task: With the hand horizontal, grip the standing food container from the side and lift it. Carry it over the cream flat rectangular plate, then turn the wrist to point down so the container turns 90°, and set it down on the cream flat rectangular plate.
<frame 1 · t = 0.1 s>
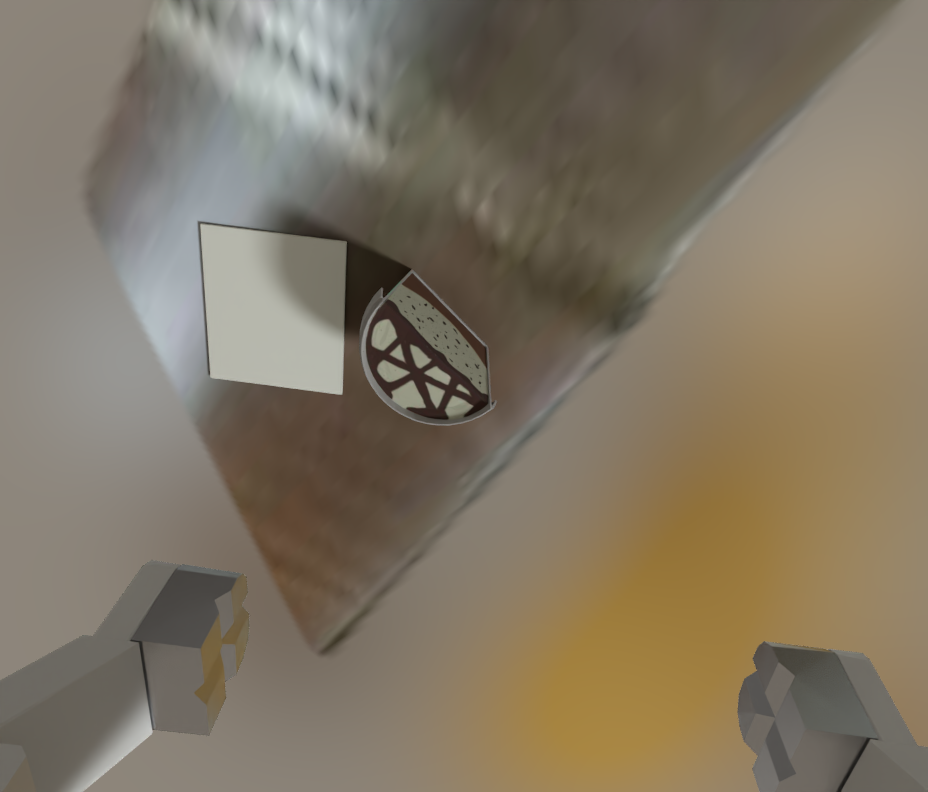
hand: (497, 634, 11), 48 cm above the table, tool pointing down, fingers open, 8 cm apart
food container: (425, 330, 61), on the table
cream flat rectangular plate: (275, 312, 61), on the table
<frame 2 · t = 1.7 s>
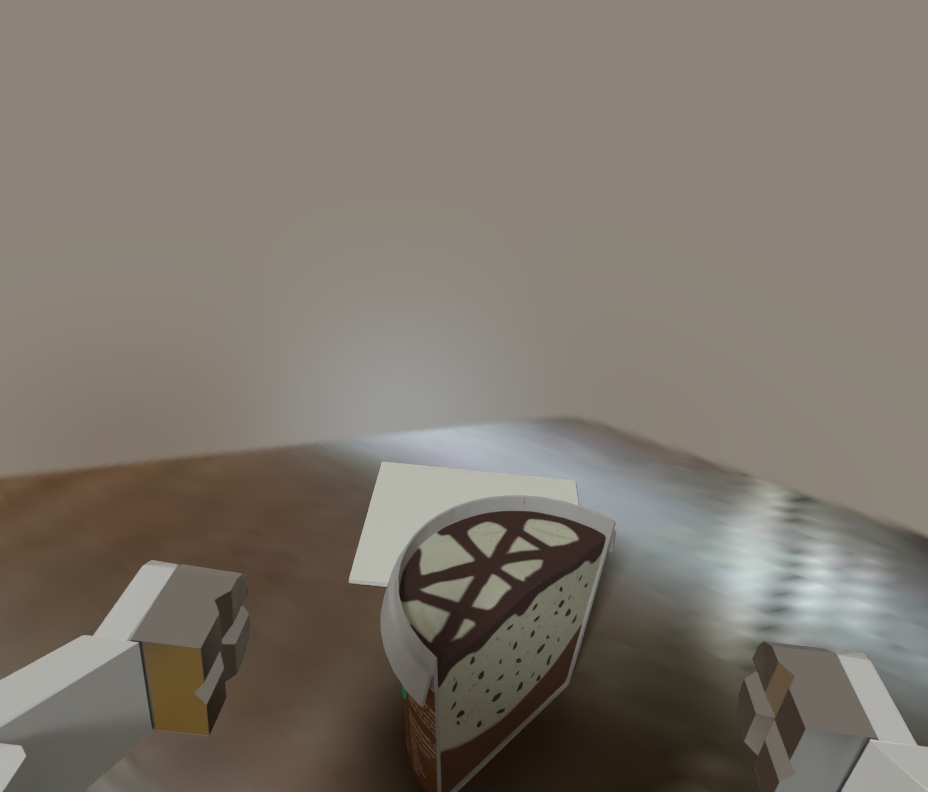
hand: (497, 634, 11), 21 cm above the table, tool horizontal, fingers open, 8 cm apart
food container: (462, 702, 35), on the table
cream flat rectangular plate: (474, 527, 46), on the table
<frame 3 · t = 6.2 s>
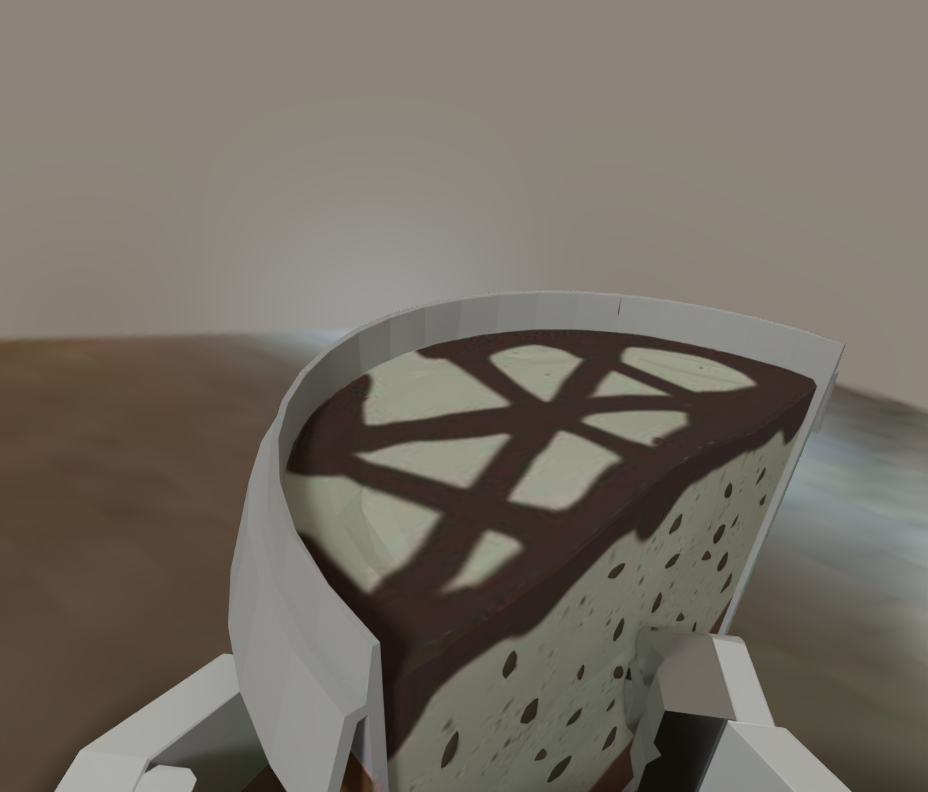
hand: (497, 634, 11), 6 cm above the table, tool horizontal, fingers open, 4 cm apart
food container: (462, 763, 16), on the table, touching gripper
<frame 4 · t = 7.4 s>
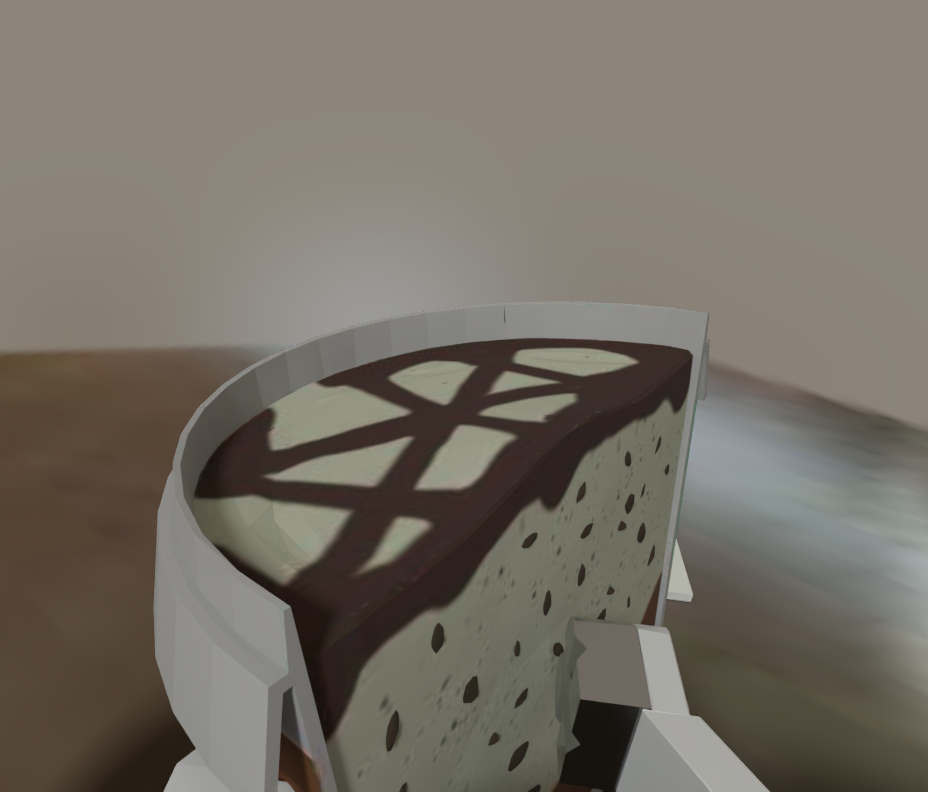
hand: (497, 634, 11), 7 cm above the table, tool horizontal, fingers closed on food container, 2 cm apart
cream flat rectangular plate: (479, 467, 28), on the table
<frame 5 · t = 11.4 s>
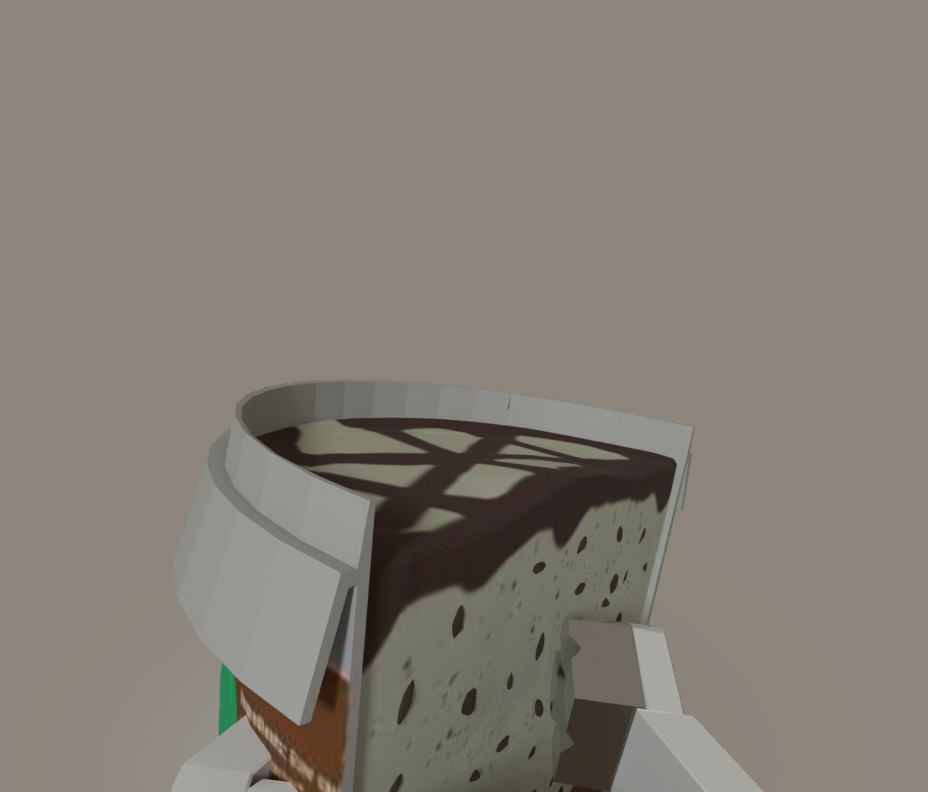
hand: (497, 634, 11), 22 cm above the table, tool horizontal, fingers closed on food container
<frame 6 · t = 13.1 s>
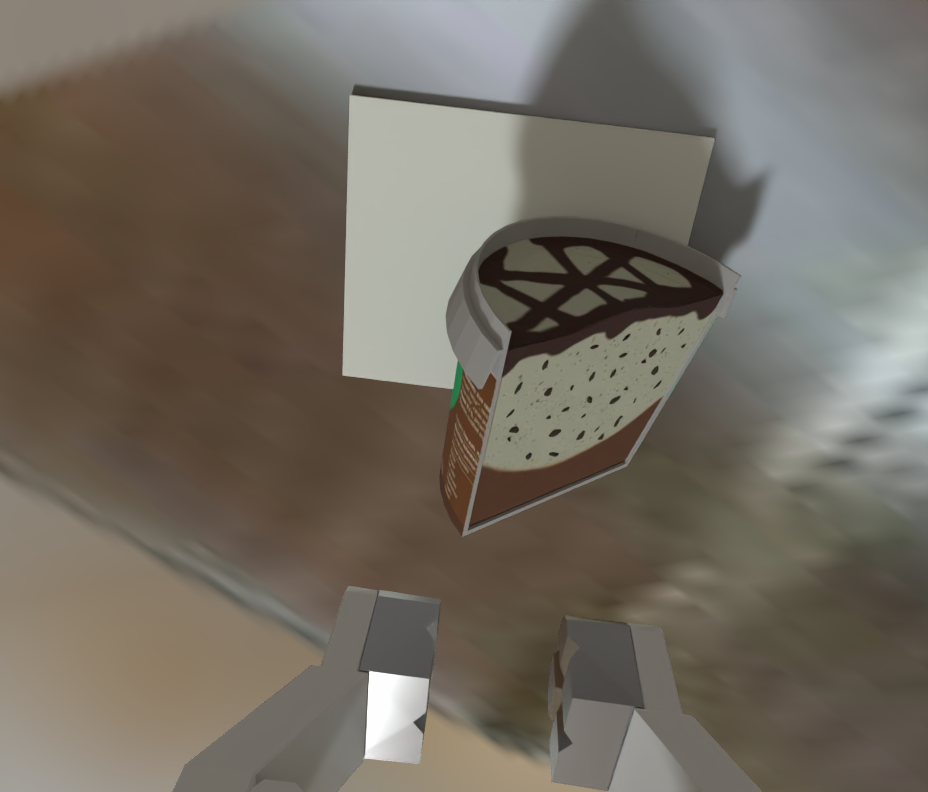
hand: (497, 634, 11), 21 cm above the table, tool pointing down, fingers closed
food container: (507, 452, 32), point 2 cm above the table, touching cream flat rectangular plate
cream flat rectangular plate: (510, 266, 30), on the table
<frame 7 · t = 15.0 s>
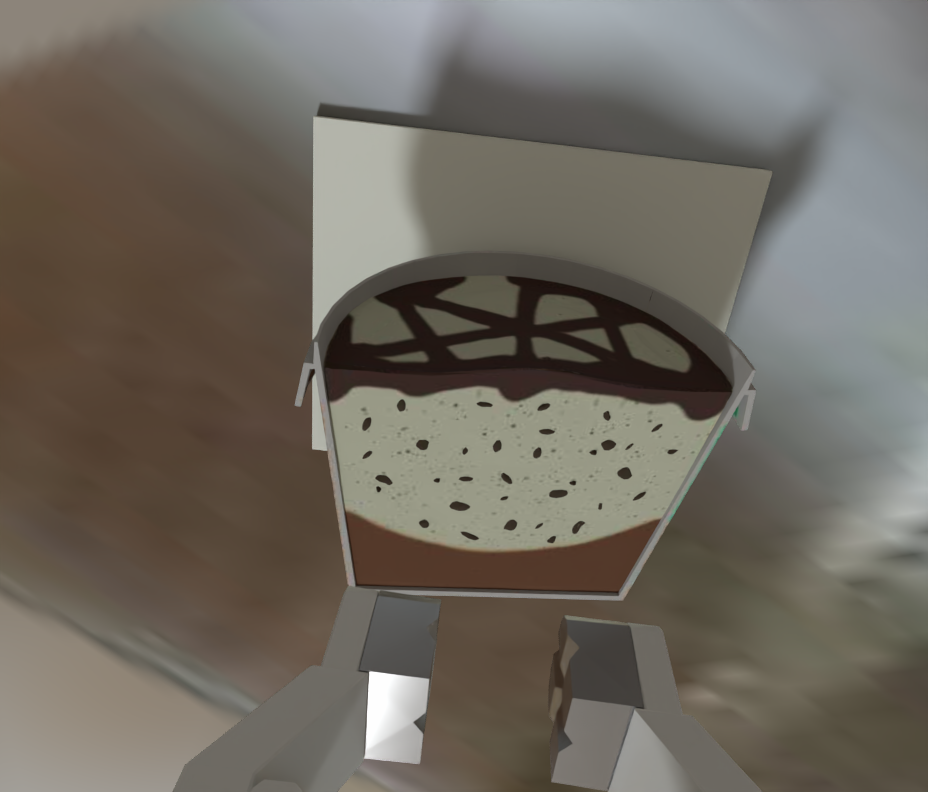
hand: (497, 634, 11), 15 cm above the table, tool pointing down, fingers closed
food container: (482, 530, 27), point 2 cm above the table, touching cream flat rectangular plate
cream flat rectangular plate: (514, 323, 25), on the table
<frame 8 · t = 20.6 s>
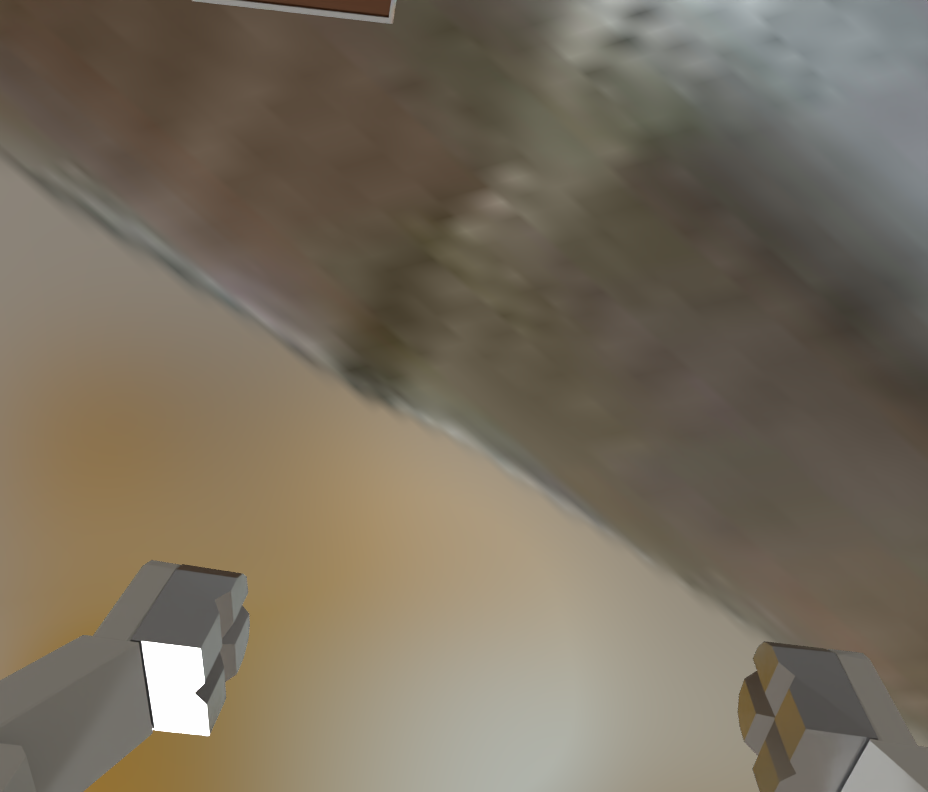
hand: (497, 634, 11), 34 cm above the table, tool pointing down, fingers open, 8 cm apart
food container: (302, 4, 36), point 2 cm above the table, touching cream flat rectangular plate
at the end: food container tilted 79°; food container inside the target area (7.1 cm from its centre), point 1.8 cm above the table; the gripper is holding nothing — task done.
